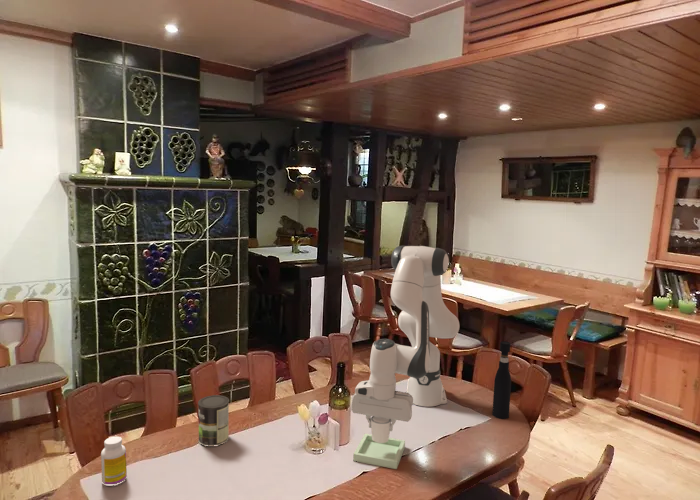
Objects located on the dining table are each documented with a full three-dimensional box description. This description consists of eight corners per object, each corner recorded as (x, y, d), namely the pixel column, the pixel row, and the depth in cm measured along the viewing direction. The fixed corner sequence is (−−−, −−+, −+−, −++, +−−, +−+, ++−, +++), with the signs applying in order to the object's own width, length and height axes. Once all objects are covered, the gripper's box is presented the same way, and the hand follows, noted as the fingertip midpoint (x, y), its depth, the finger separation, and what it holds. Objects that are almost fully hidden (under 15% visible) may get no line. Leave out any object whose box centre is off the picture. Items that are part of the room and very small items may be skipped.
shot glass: (389, 445, 159) (390, 424, 158) (368, 442, 160) (369, 422, 159) (391, 434, 166) (392, 415, 165) (371, 432, 167) (371, 413, 166)
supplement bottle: (130, 481, 145) (129, 440, 143) (107, 490, 140) (106, 448, 139) (120, 472, 149) (119, 432, 148) (98, 481, 144) (96, 440, 143)
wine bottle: (510, 419, 192) (515, 345, 188) (493, 418, 192) (498, 344, 189) (507, 412, 198) (512, 340, 194) (491, 411, 199) (495, 339, 195)
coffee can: (201, 449, 163) (201, 409, 162) (195, 435, 172) (195, 397, 171) (232, 443, 168) (232, 404, 166) (225, 430, 177) (225, 393, 175)
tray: (364, 439, 173) (364, 433, 173) (404, 447, 169) (405, 440, 168) (353, 460, 159) (353, 453, 159) (396, 469, 155) (396, 462, 155)
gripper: (415, 389, 161) (413, 429, 163) (355, 381, 167) (354, 419, 169) (411, 397, 155) (409, 438, 157) (350, 388, 161) (349, 428, 163)
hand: (380, 428), depth 163 cm, fingers closed on shot glass, 5 cm apart
